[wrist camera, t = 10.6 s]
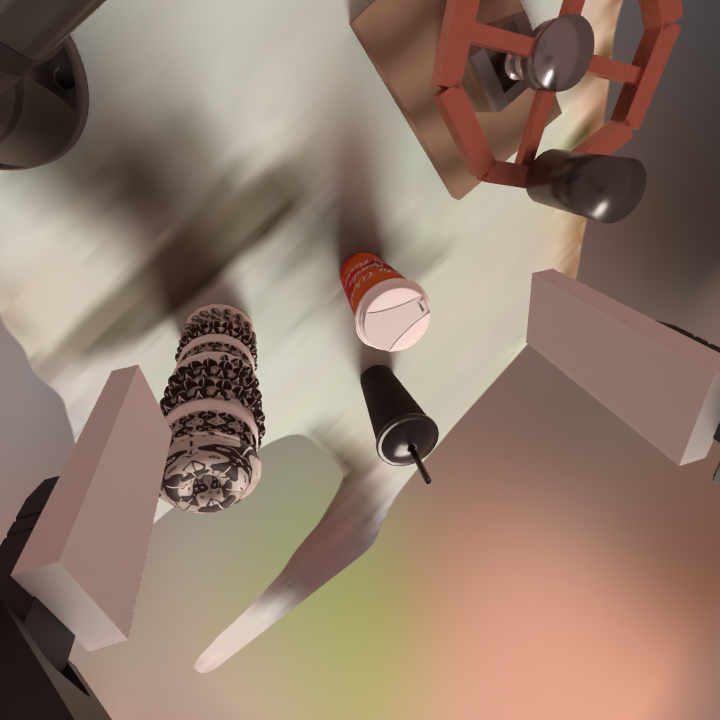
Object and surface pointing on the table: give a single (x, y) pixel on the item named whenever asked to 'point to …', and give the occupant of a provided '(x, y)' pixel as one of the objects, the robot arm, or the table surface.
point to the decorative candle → (213, 413)
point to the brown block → (414, 94)
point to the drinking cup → (397, 420)
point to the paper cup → (384, 303)
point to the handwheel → (546, 76)
